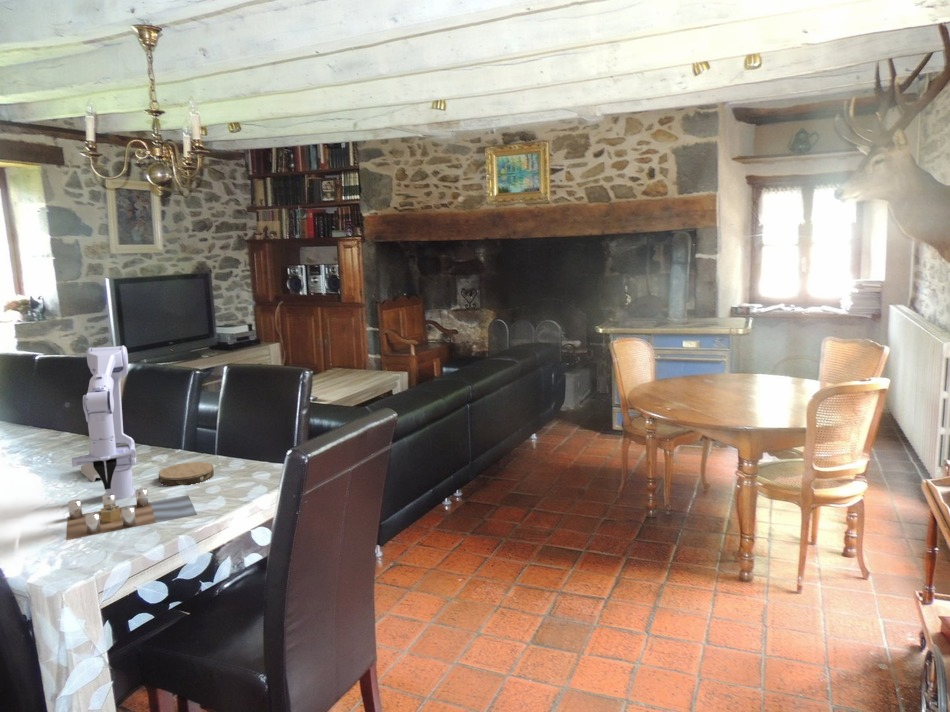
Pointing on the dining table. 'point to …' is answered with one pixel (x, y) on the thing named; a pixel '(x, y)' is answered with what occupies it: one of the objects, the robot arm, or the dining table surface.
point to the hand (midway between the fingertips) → (107, 488)
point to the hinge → (89, 471)
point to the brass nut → (110, 514)
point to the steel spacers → (108, 500)
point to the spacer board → (137, 516)
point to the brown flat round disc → (186, 474)
